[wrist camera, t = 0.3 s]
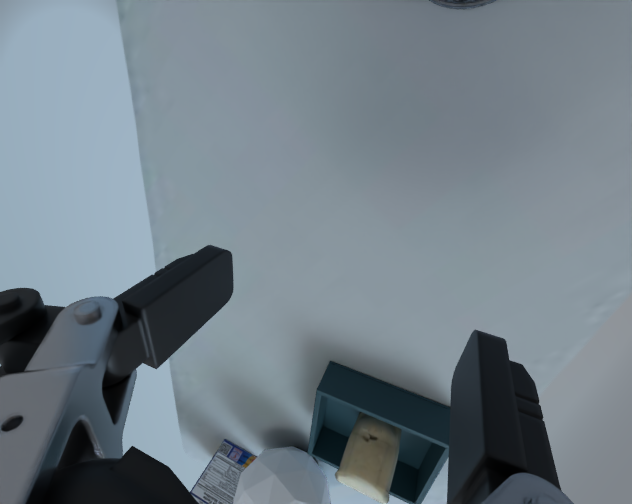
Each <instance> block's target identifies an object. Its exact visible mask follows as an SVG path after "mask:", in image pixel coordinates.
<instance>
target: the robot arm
mask: <svg viewBox="0 0 632 504" xmlns="http://www.w3.org/2000/svg"><path fill="white" fill-rule="evenodd" d="M429 1H431V2H433V3H435V4H437V5H440V6H443V7H447V8H454V9H467V8H475V7H479V6H483V5H486V4H489V3H492V2H494V1H497V0H429ZM232 293H233V263H232V254H231V252H230V251H228V250H225V249H222V248H218V247H215V246H212V245H208V246H206V247H204V248H203V249H201V250H199V251H198V252H196V253H195V254H191V255H188V256H185V257H182V258H179V259H176V260H175V261H173V262H172V263H170V264H168V265H167V266H165V268H164V269H163V268H162V269H160V270H159V271H157V272H156V273H155V274H154V275H151V276H149V277H148V278H146V279H144V280H143V281H141V282H140V283H138V284H136V285H135V286H133V287H131V288H130V289H128V290H127V291H125V292H123V293H122V294H120V295H119V296H117V297H115V298H114V299H112V298H109V297H101V296H100V297H90V298H85V299H82V300H79V301H77V302H74V303H72V304H70V305H69V306H67V307H58V306H48V305H44V303H43V301H42V298H41V296H40V294H39V292H38V291H36V290H34V289H30V288H16V289H10V290H6V291H3V292H0V364H1V367H0V504H199V503H198V502H197V501H196V500H195V498H194V497H193V496H192V495H191V493H190V492H189V491H188V490H187V489H186V487H185V486H184V485H183V484H182V482H181V481H180V480H179V479H178V478H177V476H176V475H175V474H174V473H173V471H172V470H171V469H170V468H169V467H168V466H166V465H164V464H163V463H161V462H159V461H158V460H156V459H154V458H152V457H151V456H149V455H147V454H145V453H144V452H142V451H140V450H138V449H137V448H135V447H133V446H132V447H131V448H130V449H129V450H128V451H127V452H126V453H125V454H124V455H123V448H122V436H123V429H124V425H125V421H126V417H127V413H128V409H129V405H130V401H131V397H132V393H133V389H134V385H135V381H136V376H137V371H136V368H137V367H138V366H140V365H141V364H142V363H144V364H146V365H148V366H151V367H153V368H155V369H157V368H158V367H159V366H160V365H161V364H163V363H164V362H165V361H166V360H167V359H168V358H169V357H170V356H171V355H172V354H173V353H174V352H175V351H176V350H177V349H179V348H180V347H181V346H182V345H183V344H184V343H185V342H186V341H187V340H188V339H189V338H190V337H191V336H192V335H193V334H195V333H196V332H197V331H198V330H199V329H200V328H201V327H202V326H203V325H204V324H205V323H206V322H207V321H208V320H209V319H210V318H212V317H213V316H214V315H215V314H216V313H217V312H218V311H219V310H220V309H221V308H222V307H223V306H224V305H225V304H226V303H227V302H228V301H229V299H230V298H231V295H232ZM542 419H543V415H542V410H541V406H540V405H539V398H538V394H537V390H536V386H535V383H534V381H533V380H532V378H531V377H530V375H529V374H528V372H527V371H526V369H525V368H524V366H523V365H522V364H519V363H516V362H513V361H510V360H509V356H508V350H507V344H506V341H505V339H503V338H500V337H497V336H494V335H491V334H487V333H484V332H481V331H478V330H474V331H473V332H472V334H471V336H470V338H469V340H468V342H467V345H466V347H465V349H464V351H463V353H462V355H461V357H460V359H459V362H458V364H457V366H456V368H455V371H454V375H453V379H452V385H451V407H450V435H449V464H448V492H447V504H574V503H573V502H572V501H571V500H570V499H569V498H568V497H567V496H566V495H565V494H564V493H563V492H562V491H561V488H560V485H559V481H558V477H557V472H556V468H555V464H554V460H553V456H552V452H551V448H550V443H549V440H548V435H547V431H546V427H545V423H544V421H543V420H542Z"/></svg>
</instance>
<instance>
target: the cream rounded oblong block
mask: <svg viewBox="0 0 632 504" xmlns="http://www.w3.org/2000/svg"><path fill="white" fill-rule="evenodd" d="M400 438H401V429H400V428H398V427H396V426H393V425H391V424H388V423H386V422H384V421H381V420H379V419H377V418H374V417H372V416H370V415H367V414H365V413H363V412H360V413H359V415H358V417H357V420H356V422H355V425H354V427H353V429H352V432H351V434H350V437H349V439H348V442H347V445H346V448H345V451H344V454H343V457H342V460H341V463H340V467H339V469H338V471H337V472H336V473H335V476H336V479H337V480H338V481H339V482H340V483H342V484H344V485H346V486H349V487H351V488H353V489H355V490H356V491H358V492H360V493H362V494H364V495H366V496H368V497H370V498H372V499H374V500H376V501H378V502H379V503H382V504H385V503H388V501H389V490H390V487H391V483H392V479H393V475H394V471H395V467H396V463H397V459H398V453H399V445H400Z"/></svg>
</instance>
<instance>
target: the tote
mask: <svg viewBox="0 0 632 504" xmlns="http://www.w3.org/2000/svg"><path fill="white" fill-rule="evenodd" d="M360 412H363V413H365V414H367V415H370V416H372V417H374V418H377V419H379V420H381V421H384V422H386V423H388V424H391V425H393V426H396V427H398V428H400V429H401V438H400V445H399V453H398V459H397V463H396V467H395V471H394V475H393V479H392V483H391V487H390V490H389V494H390V495H392V496H394V497H396V498H399V499H401V500H403V501H405V502H407V503H409V504H421V503H422V501H423V500H424V498H425V496H426V494H427V493H428V491H429V489H430V488H431V486H432V484H433V482H434V481H435V479H436V477H437V476H438V474H439V472H440V470H441V469H442V467H443V465H444V464H445V462H446V460H447V458H448V457H449V435H450V407H447V406H445V405H442V404H440V403H437V402H435V401H432V400H429V399H427V398H424V397H422V396H419V395H417V394H414V393H411V392H409V391H406V390H404V389H401V388H399V387H396V386H393V385H391V384H388V383H386V382H383V381H381V380H378V379H375V378H373V377H370V376H368V375H365V374H363V373H360V372H357V371H355V370H352V369H350V368H347V367H345V366H342V365H339V364H337V363H334V362H332V361H330V362H329V365H328V367H327V369H326V371H325V373H324V375H323V378H322V380H321V382H320V384H319V386H318V388H317V392H316V399H315V406H314V412H313V419H312V426H311V433H310V439H309V446H308V453H307V454H308V455H310V456H312V457H314V458H316V459H318V460H321V461H323V462H325V463H327V464H329V465H331V466H333V467H335V468H337V469H339V467H340V463H341V460H342V457H343V454H344V451H345V448H346V445H347V442H348V439H349V437H350V434H351V432H352V429H353V427H354V425H355V422H356V420H357V417H358V415H359V413H360Z"/></svg>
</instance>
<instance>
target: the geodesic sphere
mask: <svg viewBox="0 0 632 504" xmlns="http://www.w3.org/2000/svg"><path fill="white" fill-rule="evenodd" d="M233 504H331V501H330V494H329V488H328V482H327V477H326V476H325V474H324V473H323V472H322V470H321V469H320V467H319V466H318V464H317V463H316V461H315V460H314V459H313V458H312V456H310V455H308V454H307V452H305V451H302V450H300V449H298V448H295V447H293V446H291V447H283V448H274V449H266V450H264V451H263V452H262V453H261V454H260V455H259V456H258V457H257V458H256V459H255V460H254V461H253V462H252V463H251V464H250V465H249V466H248V467H247V468H246V469H245V470H244V471H243V472H242V473H241V475H240V478H239V482H238V486H237V490H236V493H235V497H234V501H233Z"/></svg>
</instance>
